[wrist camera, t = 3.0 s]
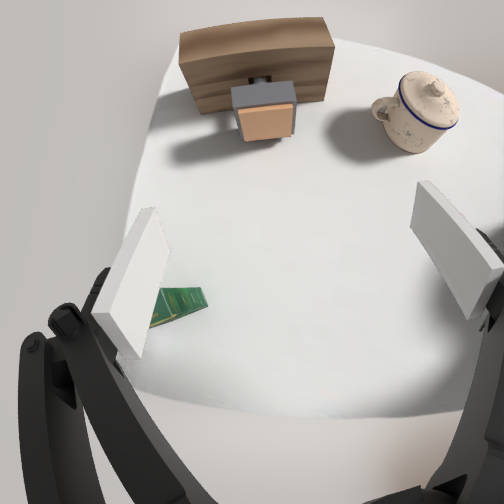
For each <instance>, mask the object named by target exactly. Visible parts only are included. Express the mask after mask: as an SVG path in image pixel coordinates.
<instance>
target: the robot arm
mask: <svg viewBox="0 0 504 504" xmlns="http://www.w3.org/2000/svg"><path fill="white" fill-rule="evenodd" d="M410 228H411V229H412V230H413V232H414V233H415V235H416V236H417V238H418V239H419V241H420V242H421V244H422V245H423V247H424V248H425V250H426V251H427V253H428V254H429V256H430V258H431V259H432V261H433V262H434V264H435V265H436V267H437V269H438V270H439V272H440V274H441V275H442V277H443V279H444V280H445V282H446V284H447V285H448V287H449V289H450V290H451V292H452V294H453V296H454V297H455V299H456V301H457V303H458V305H459V306H460V308H461V310H462V312H463V314H464V316H465V318H466V320H471V319H475V318H478V317H480V316H481V314H482V313H483V311H484V309H485V307H486V308H487V310H488V311H489V314H488V316H487V317H486V319H485V321H484V323H483V324H482V326H481V328H480V330H479V331H482V329H483V328H484V327H485V328H484V334H483V339H482V344H481V349H480V353H479V358H478V362H477V366H476V370H475V374H474V378H473V381H472V385H471V389H470V392H469V395H468V398H467V402H466V405H465V408H464V411H463V414H462V417H461V420H460V423H459V425H458V428H457V430H456V433H455V436H454V438H453V441H452V443H451V446H450V448H449V450H448V452H447V455H446V457H445V459H444V461H443V463H442V465H441V466H440V467H439V468H438V469H437V471H436V472H435V473H434V474H433V476H432V477H431V479H430V481H429V482H428V484H427V486H426V488H425V489H421V486H420V485H419V486H416V487H413V488H410V489H407V490H404V491H400V492H397V493H394V494H390V495H387V496H384V497H381V498H377V499H374V500H371V501H368V502H365V503H363V504H504V256H503V255H502V254H501V253H500V251H499V250H497V248H496V246H495V245H494V244H492V242H491V240H490V239H489V238H488V237H487V236H486V235H485V234H484V233H483V232H481V231H480V230H479V229H475V228H474V227H473V226H472V225H471V223H470V222H469V221H468V220H467V219H466V218H465V217H464V216H463V214H462V213H461V212H460V211H459V210H458V209H457V208H456V207H455V206H454V205H453V204H452V203H451V202H450V201H449V200H448V198H447V197H446V196H445V195H444V194H443V193H442V192H441V191H440V190H439V189H438V188H437V187H436V186H435V185H434V184H433V183H432V182H431V181H418V183H417V189H416V196H415V202H414V208H413V214H412V219H411V224H410ZM170 252H171V251H170V248H169V245H168V242H167V240H166V237H165V234H164V231H163V228H162V225H161V222H160V219H159V216H158V213H157V210H156V207H151V208H145V209H141V211H140V213H139V215H138V216H137V218H136V220H135V222H134V224H133V226H132V227H131V229H130V231H129V233H128V235H127V237H126V239H125V241H124V243H123V245H122V247H121V249H120V251H119V253H118V255H117V257H116V259H115V261H114V263H113V265H112V267H109V268H105V269H104V270H103V271H102V272H101V273H100V274H99V275H98V277H97V278H96V280H95V282H94V285H93V287H92V289H91V291H90V294H89V295H88V297H87V299H86V302H85V304H84V306H83V308H82V310H81V312H80V311H79V309H78V308H77V307H76V305H75V304H73V303H64V304H63V305H60V306H59V307H57V308H56V309H55V310H54V311H53V312H52V314H51V315H50V317H49V320H48V326H49V328H50V329H51V330H52V331H53V333H54V334H55V335H56V337H53V338H49V339H46V337H45V336H44V335H43V334H42V333H41V332H34V333H32V334H30V335H29V336H27V337H26V339H25V340H24V341H23V343H22V346H21V350H20V361H19V381H18V423H19V441H20V453H21V462H22V470H23V477H24V484H25V489H26V495H27V500H28V504H106V503H105V500H104V497H103V494H102V491H101V487H100V484H99V480H98V476H97V473H96V469H95V465H94V461H93V457H92V452H91V448H90V443H89V438H88V433H87V428H86V423H85V417H84V411H83V407H84V409H85V412H86V414H87V416H88V418H89V420H90V423H91V425H92V427H93V430H94V432H95V434H96V436H97V438H98V440H99V442H100V444H101V446H102V448H103V450H104V452H105V454H106V456H107V458H108V460H109V461H110V463H111V465H112V467H113V469H114V471H115V472H116V474H117V476H118V477H119V479H120V481H121V482H122V484H123V486H124V488H125V489H126V491H127V492H128V494H129V495H130V497H131V499H132V500H133V502H134V503H135V504H218V503H217V502H216V501H215V500H214V499H213V498H212V497H211V496H210V495H209V494H208V493H207V492H206V491H205V490H204V488H203V487H202V486H201V485H200V484H199V482H198V481H197V480H196V479H195V477H194V476H193V475H192V474H191V472H190V471H189V470H188V469H187V467H186V466H185V465H184V464H183V462H182V461H181V460H180V458H179V457H178V455H177V454H176V453H175V451H174V450H173V449H172V447H171V446H170V445H169V443H168V442H167V440H166V439H165V438H164V436H163V435H162V434H161V432H160V430H159V429H158V427H157V426H156V424H155V423H154V421H153V420H152V418H151V417H150V415H149V414H148V412H147V410H146V409H145V407H144V406H143V404H142V402H141V401H140V399H139V398H138V396H137V394H136V393H135V391H134V389H133V388H132V386H131V384H130V382H129V381H128V379H127V377H126V375H125V374H124V372H123V370H122V368H121V366H120V364H119V363H118V362H117V360H116V359H115V358H116V355H117V351H118V352H119V353H120V354H121V355H122V357H123V358H124V359H141V358H142V353H143V349H144V345H145V341H146V337H147V333H148V329H149V325H150V322H151V318H152V314H153V310H154V307H155V303H156V300H157V296H158V292H159V289H160V285H161V282H162V279H163V275H164V272H165V269H166V265H167V262H168V259H169V255H170Z"/></svg>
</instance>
